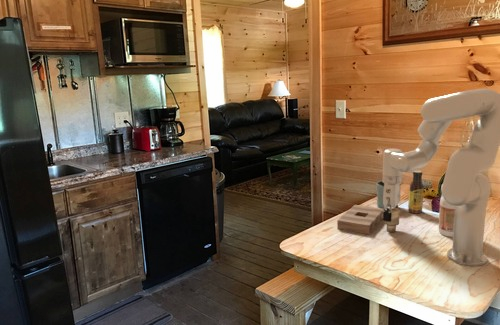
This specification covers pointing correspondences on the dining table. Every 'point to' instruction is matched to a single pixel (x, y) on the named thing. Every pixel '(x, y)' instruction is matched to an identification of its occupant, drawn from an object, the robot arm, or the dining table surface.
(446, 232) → the fruit juice
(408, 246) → the dining table surface
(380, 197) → the grey green cup
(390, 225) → the wooden peg
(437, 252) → the dining table surface
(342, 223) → the walnut slab
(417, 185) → the sauce bottle
